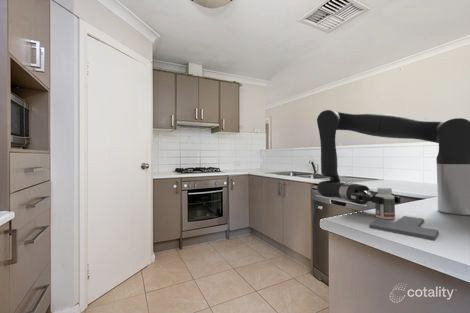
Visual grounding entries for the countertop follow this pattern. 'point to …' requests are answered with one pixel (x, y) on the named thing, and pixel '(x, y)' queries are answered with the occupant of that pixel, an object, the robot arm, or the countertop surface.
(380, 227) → the t mat
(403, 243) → the countertop surface
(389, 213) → the pill bottle
